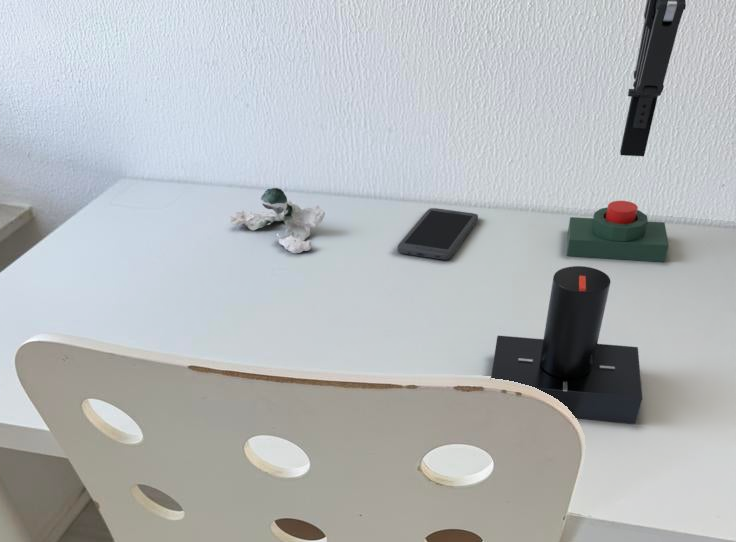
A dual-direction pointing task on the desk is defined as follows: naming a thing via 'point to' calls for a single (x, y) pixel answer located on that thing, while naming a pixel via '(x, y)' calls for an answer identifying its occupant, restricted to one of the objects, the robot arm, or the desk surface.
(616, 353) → the black base block
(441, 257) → the cell phone
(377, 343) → the desk surface
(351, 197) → the desk surface
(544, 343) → the knob
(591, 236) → the button block
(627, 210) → the button
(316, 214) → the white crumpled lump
